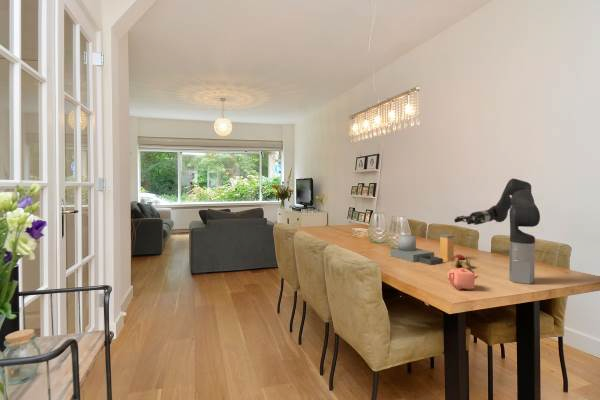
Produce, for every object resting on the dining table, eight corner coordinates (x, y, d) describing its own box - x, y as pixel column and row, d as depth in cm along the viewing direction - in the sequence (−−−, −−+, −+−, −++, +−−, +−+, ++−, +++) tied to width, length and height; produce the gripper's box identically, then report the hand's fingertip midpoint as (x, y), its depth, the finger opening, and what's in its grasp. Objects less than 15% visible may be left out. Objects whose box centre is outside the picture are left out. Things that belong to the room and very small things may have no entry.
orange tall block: (446, 258, 193) (446, 234, 193) (454, 260, 188) (454, 235, 188) (439, 259, 191) (439, 234, 190) (447, 261, 186) (447, 236, 185)
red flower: (478, 276, 161) (466, 262, 178) (476, 263, 160) (464, 251, 177) (461, 278, 162) (450, 264, 180) (459, 266, 161) (449, 253, 179)
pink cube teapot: (482, 291, 134) (482, 271, 134) (451, 290, 135) (451, 270, 135) (474, 285, 142) (474, 266, 142) (445, 285, 143) (445, 266, 143)
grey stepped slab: (410, 253, 208) (410, 234, 207) (447, 262, 183) (447, 240, 183) (390, 256, 201) (390, 236, 200) (425, 265, 176) (426, 243, 176)
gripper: (469, 210, 207) (450, 213, 200) (491, 212, 194) (472, 216, 187) (469, 222, 207) (451, 226, 201) (491, 225, 195) (472, 229, 188)
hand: (461, 221), depth 194 cm, fingers open, 8 cm apart
